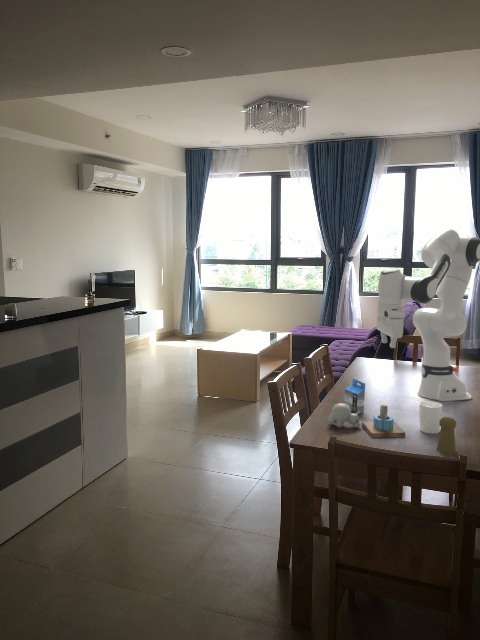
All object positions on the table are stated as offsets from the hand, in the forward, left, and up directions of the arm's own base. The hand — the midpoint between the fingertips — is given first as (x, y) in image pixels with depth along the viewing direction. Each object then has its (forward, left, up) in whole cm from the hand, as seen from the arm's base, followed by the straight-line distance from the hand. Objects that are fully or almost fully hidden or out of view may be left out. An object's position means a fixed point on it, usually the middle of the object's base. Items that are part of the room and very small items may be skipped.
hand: (388, 345), depth 211 cm
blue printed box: (+12, -4, -28) cm, 31 cm away
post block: (+8, +20, -28) cm, 35 cm away
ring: (+8, +20, -26) cm, 34 cm away
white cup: (-9, +21, -28) cm, 36 cm away
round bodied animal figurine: (+20, +15, -28) cm, 38 cm away
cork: (-7, +39, -28) cm, 49 cm away
